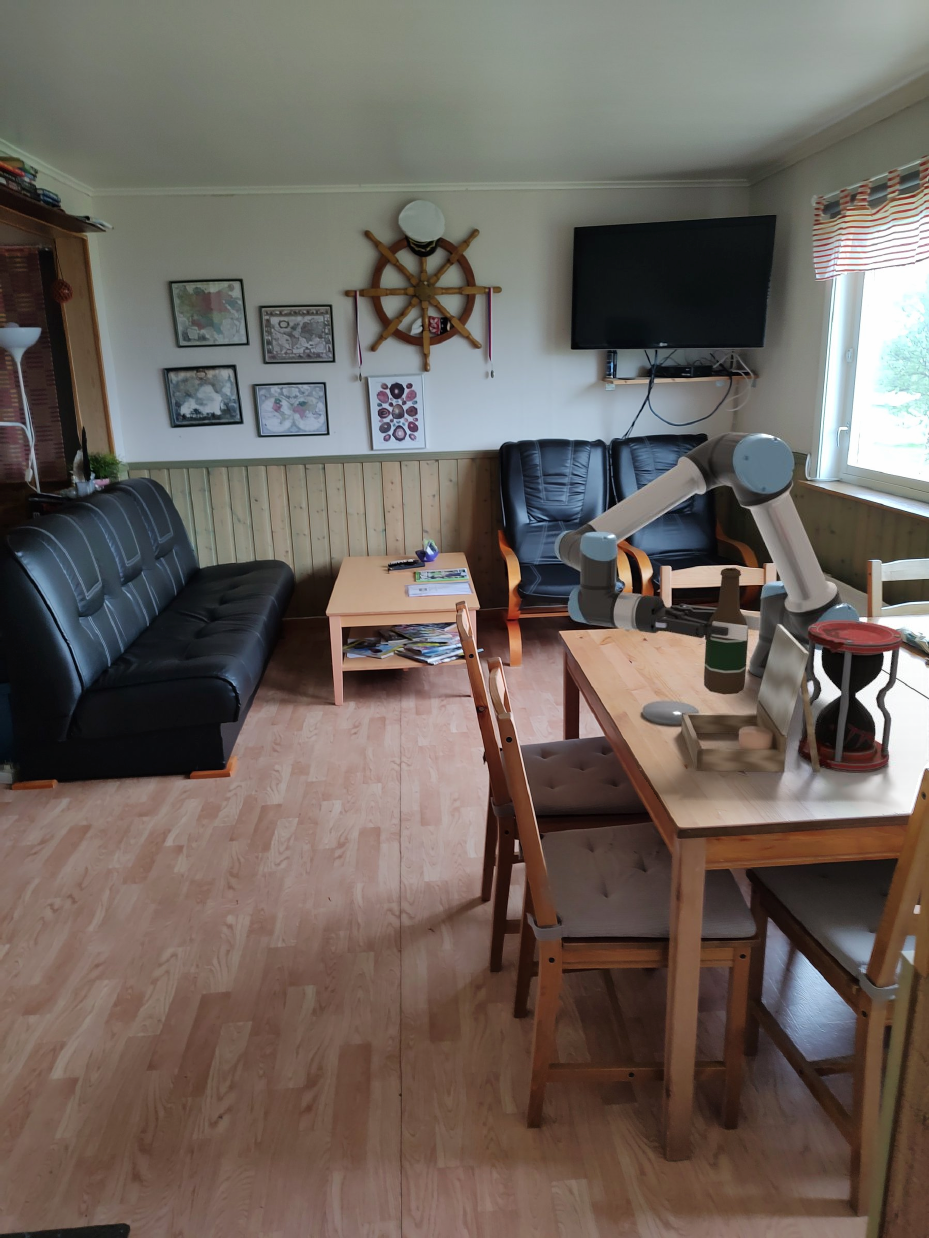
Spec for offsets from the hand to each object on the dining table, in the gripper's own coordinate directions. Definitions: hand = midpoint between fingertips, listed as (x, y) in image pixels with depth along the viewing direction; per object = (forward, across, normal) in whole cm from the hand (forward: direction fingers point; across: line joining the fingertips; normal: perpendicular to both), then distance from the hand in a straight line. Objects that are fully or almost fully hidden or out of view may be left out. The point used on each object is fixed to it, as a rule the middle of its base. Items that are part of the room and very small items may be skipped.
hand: (753, 628), depth 162 cm
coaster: (-19, -10, -25) cm, 33 cm away
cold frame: (0, 0, -25) cm, 25 cm away
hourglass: (+17, -7, -25) cm, 31 cm away
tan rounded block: (+3, +5, -25) cm, 26 cm away
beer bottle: (-5, 0, -13) cm, 14 cm away
